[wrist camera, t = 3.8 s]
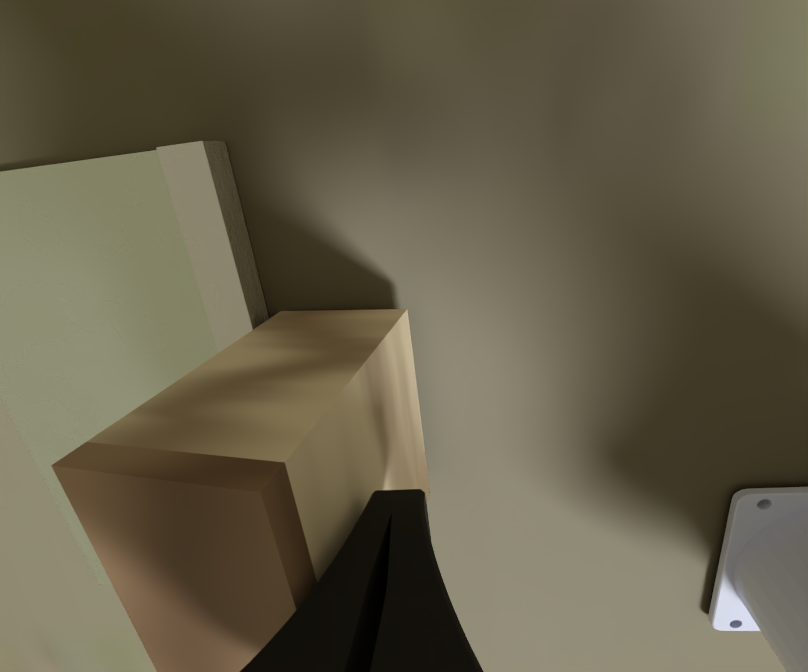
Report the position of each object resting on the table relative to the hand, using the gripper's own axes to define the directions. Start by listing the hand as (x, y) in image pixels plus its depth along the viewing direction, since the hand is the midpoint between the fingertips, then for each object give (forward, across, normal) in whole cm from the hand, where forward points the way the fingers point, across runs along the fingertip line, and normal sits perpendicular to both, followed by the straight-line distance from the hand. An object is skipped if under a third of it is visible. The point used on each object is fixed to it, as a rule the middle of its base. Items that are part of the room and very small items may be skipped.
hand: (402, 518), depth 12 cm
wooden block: (+6, +2, 0) cm, 6 cm away
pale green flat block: (+6, +12, 0) cm, 13 cm away
